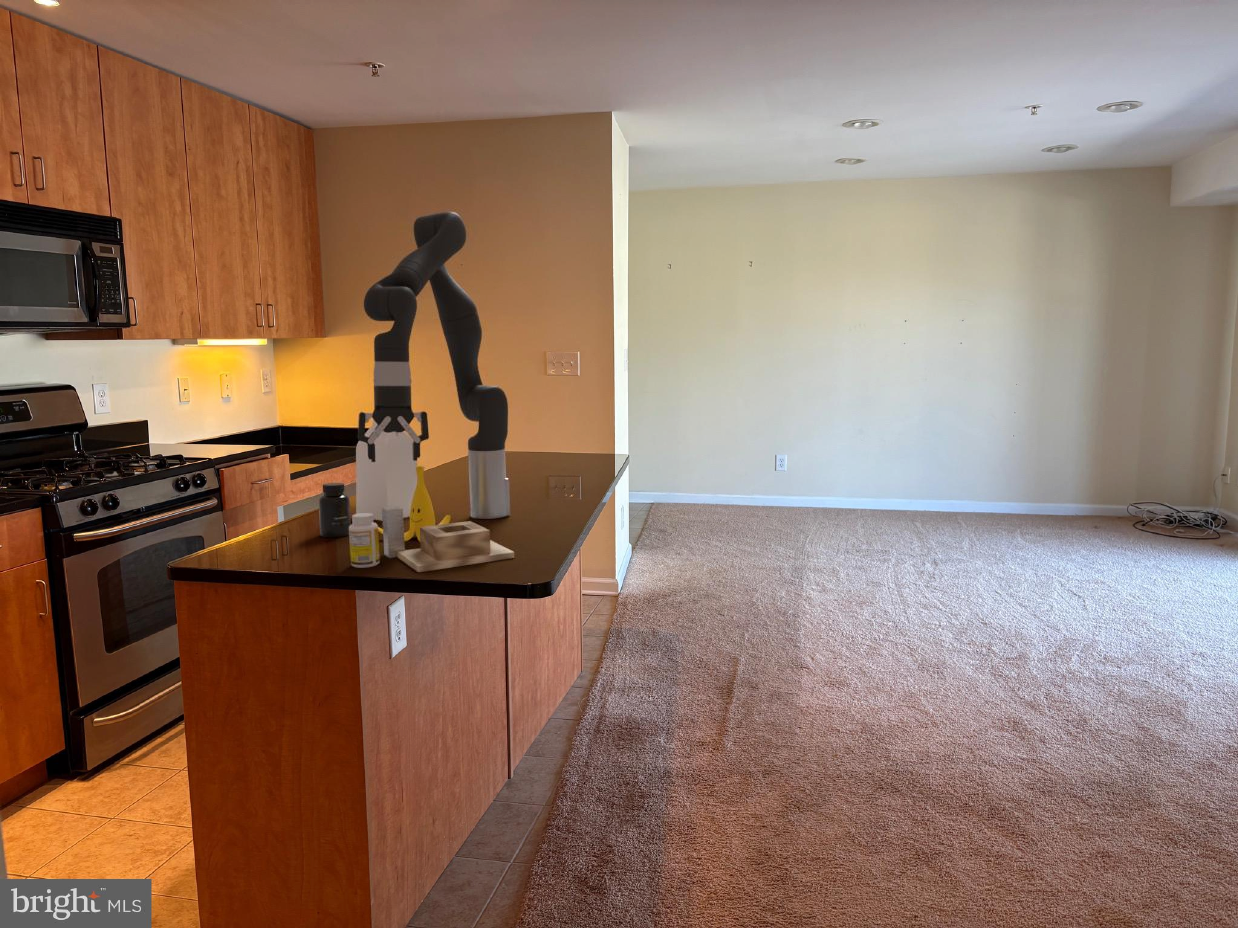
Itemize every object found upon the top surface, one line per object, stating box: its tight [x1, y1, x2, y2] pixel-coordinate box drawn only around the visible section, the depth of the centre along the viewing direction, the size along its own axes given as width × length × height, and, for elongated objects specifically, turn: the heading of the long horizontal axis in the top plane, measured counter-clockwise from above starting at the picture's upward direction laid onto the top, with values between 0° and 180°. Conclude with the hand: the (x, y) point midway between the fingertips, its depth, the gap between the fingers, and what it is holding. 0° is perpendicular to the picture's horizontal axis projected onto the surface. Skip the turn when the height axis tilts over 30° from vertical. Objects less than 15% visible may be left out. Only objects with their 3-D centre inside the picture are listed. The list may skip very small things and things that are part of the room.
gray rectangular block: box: [382, 506, 406, 559], centre depth 172 cm, size 3×3×10 cm
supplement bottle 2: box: [348, 513, 381, 569], centre depth 165 cm, size 6×6×10 cm
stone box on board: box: [396, 520, 515, 573], centre depth 170 cm, size 20×14×6 cm
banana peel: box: [378, 465, 452, 543], centre depth 190 cm, size 17×19×17 cm
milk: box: [355, 419, 419, 522], centre depth 213 cm, size 12×12×26 cm
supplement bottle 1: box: [318, 482, 352, 539], centre depth 192 cm, size 7×7×12 cm
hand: (394, 461), depth 175 cm, fingers open, 8 cm apart
